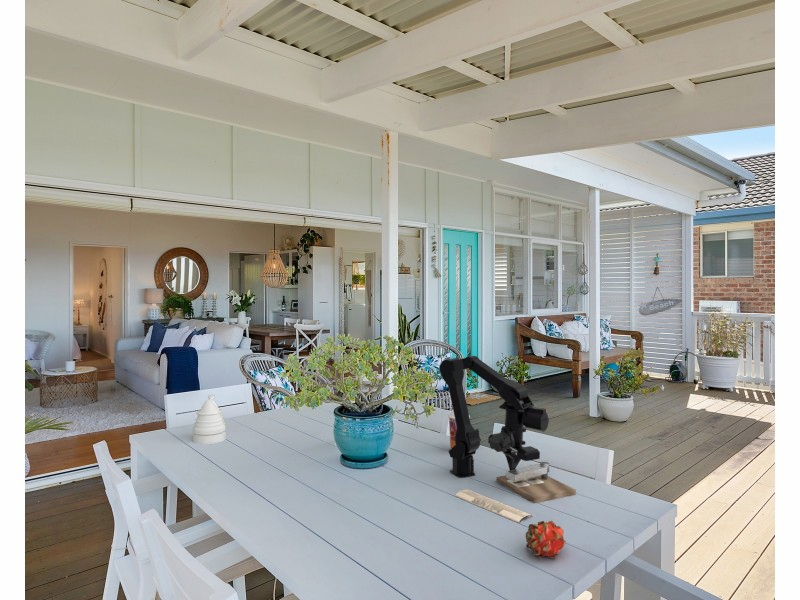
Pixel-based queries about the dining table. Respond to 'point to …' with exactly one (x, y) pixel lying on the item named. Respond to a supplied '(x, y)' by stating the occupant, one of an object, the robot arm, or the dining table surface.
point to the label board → (537, 488)
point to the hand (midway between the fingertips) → (511, 472)
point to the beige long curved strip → (492, 505)
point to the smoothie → (452, 428)
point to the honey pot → (209, 424)
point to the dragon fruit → (545, 539)
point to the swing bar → (528, 471)
